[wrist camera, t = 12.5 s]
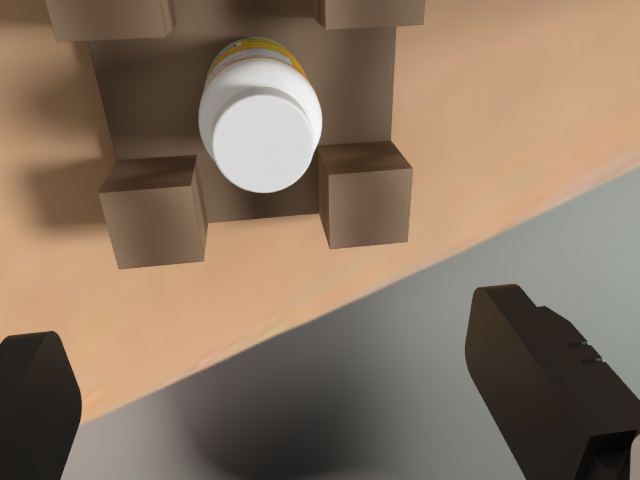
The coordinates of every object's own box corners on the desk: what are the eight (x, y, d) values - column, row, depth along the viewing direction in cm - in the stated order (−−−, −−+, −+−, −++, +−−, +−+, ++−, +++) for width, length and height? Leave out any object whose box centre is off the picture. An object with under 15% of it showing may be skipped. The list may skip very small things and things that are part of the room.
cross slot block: (396, -86, 25) (431, -94, 21) (383, 200, 33) (407, 241, 29) (64, -78, 24) (21, -85, 19) (136, 221, 32) (118, 269, 27)
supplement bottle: (298, 139, 29) (322, 214, 21) (204, 130, 28) (190, 204, 20) (311, 42, 27) (344, 84, 18) (208, 28, 26) (193, 65, 17)
